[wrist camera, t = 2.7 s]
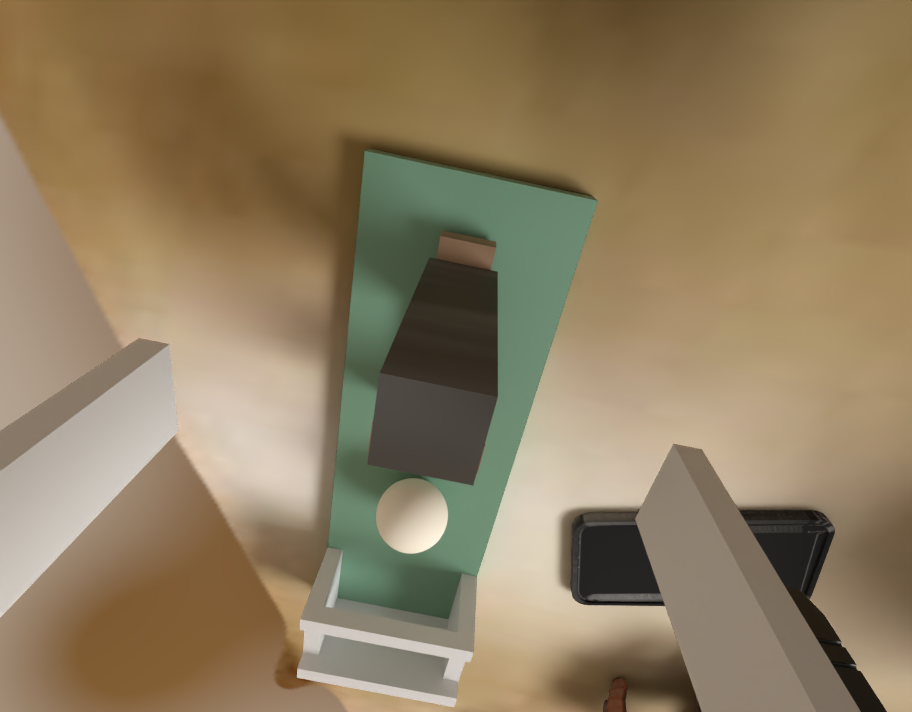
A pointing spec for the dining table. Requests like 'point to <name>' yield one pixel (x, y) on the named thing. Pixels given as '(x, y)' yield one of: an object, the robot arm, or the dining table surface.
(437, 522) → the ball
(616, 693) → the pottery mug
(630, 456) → the dining table surface
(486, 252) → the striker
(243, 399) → the dining table surface
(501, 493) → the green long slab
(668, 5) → the dining table surface
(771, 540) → the phone
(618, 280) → the dining table surface
